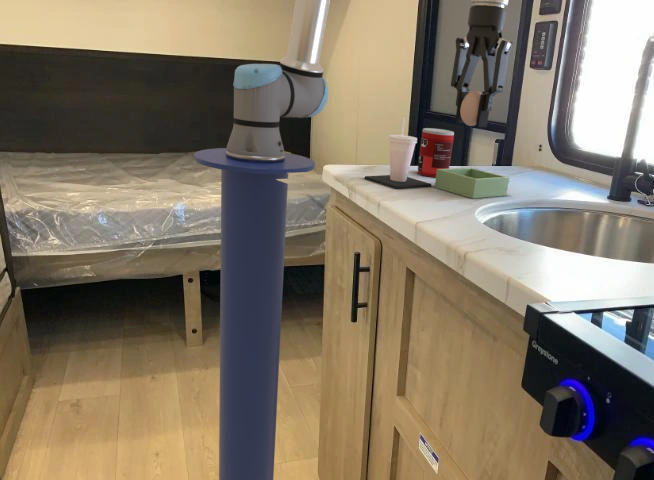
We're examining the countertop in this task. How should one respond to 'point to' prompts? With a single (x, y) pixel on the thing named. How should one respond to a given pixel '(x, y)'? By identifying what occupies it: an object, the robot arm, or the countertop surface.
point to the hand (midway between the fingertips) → (470, 124)
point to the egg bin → (471, 182)
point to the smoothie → (401, 155)
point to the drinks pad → (396, 184)
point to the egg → (470, 108)
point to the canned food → (435, 151)
